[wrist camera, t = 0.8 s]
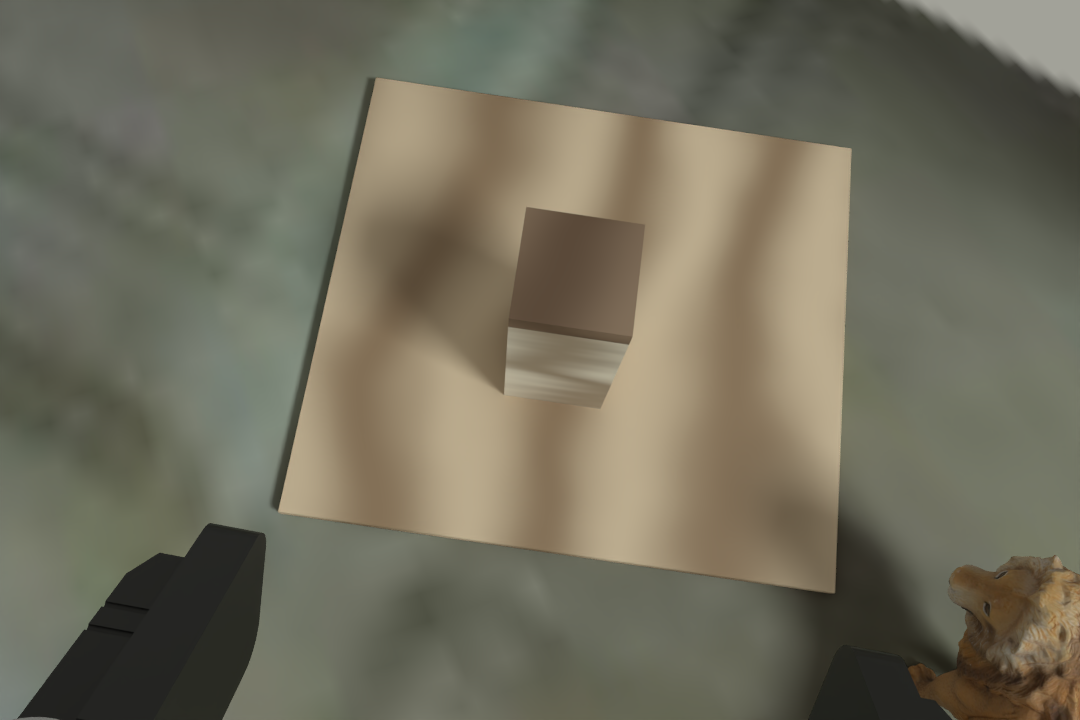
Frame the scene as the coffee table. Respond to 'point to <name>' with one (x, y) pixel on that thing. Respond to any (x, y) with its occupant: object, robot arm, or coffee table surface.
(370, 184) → the wooden board
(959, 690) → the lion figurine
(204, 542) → the robot arm
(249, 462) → the coffee table surface
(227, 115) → the coffee table surface
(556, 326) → the white block
